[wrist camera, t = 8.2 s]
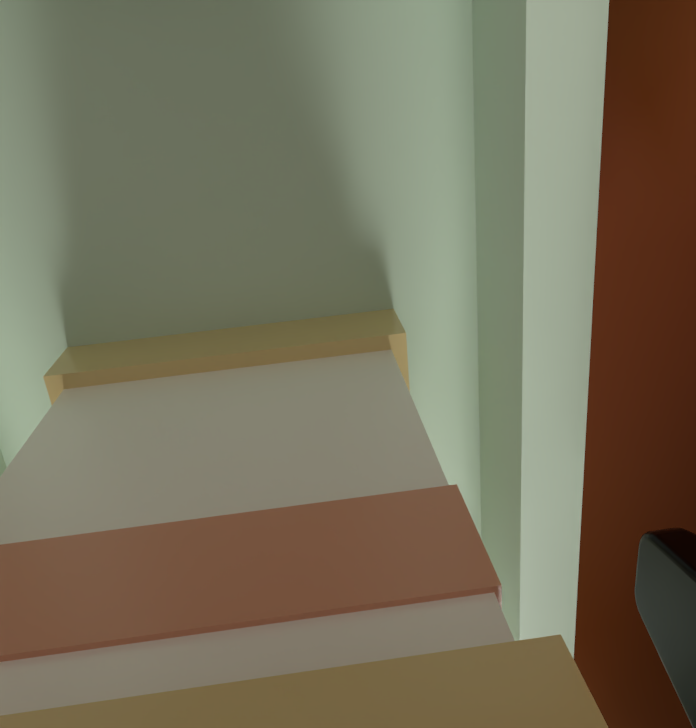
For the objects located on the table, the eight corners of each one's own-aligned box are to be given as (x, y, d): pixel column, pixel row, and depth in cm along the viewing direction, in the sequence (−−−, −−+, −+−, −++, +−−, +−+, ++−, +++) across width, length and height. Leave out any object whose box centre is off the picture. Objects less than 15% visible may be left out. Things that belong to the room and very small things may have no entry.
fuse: (393, 308, 9) (631, 769, 3) (411, 564, 11) (582, 1196, 5) (67, 347, 9) (-418, 932, 3) (138, 602, 11) (-60, 1317, 4)
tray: (522, -230, 8) (628, -371, 5) (515, 762, 14) (560, 894, 12) (-260, -168, 7) (-519, -291, 5) (105, 825, 14) (69, 976, 11)
